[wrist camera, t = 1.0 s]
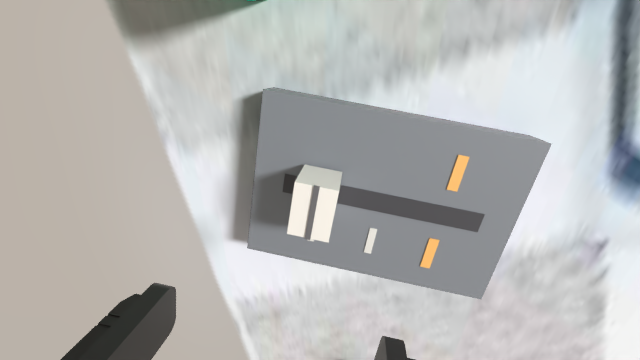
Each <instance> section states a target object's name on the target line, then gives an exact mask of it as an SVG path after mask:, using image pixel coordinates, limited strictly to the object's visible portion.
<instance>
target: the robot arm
mask: <svg viewBox="0 0 640 360" xmlns="http://www.w3.org/2000/svg"><path fill="white" fill-rule="evenodd" d="M175 319H176V289H175V287H172V286H167V285H163V284H159V283H154V284H152V285H151V286H150V287H149V288H148V289H147V290H146V291H145V292H144V293H143V294H142V295H139V294H134V295H133V296H130V297H129V298H127V299H125V300H123V301H121V302H120V303H119V304H118V305H117V306H116V307H115V308H114V309H113V310H112V311H110V312H109V314H108V316H105V317H104V318H103V319H102V320H101V321H100V322H99V323H98V325H97V326H95V327H94V328H93V329H92V330H91V331H90V332H89V333H88V334H87V335H86V336H85V337H83V338H82V340H80V341H79V342H78V343H77V344H76V345H75V346H74V347H73V348H72V349H71V350H70V351H69V352H68V353H67V354H66V355H65V356H64V357H63V358H62V359H61V360H151V359H152V358H153V356H154V355H155V354H156V352H157V351H158V349H159V348H160V347H161V345H162V344H163V342H164V341H165V340H166V338H167V337H168V336H169V334H170V332H171V331H172V328H173V326H174V323H175ZM374 360H414V359H410V358H407V355H406V349H405V344H404V341H403V340H399V339H394V338H390V337H386V336H382V338H381V341H380V344H379V347H378V350H377V353H376V356H375V359H374Z"/></svg>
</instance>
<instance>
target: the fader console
mask: <svg viewBox="0 0 640 360" xmlns="http://www.w3.org/2000/svg"><path fill="white" fill-rule="evenodd" d="M550 146H551V143H548V142H545V141H543V140H540V139H537V138H535V137H532V136H529V135H524V134H519V133H514V132H508V131H503V130H498V129H492V128H487V127H482V126H476V125H471V124H466V123H460V122H455V121H450V120H444V119H439V118H434V117H428V116H423V115H418V114H412V113H407V112H402V111H396V110H391V109H386V108H380V107H375V106H370V105H364V104H359V103H354V102H348V101H343V100H338V99H332V98H327V97H322V96H316V95H311V94H306V93H301V92H295V91H290V90H285V89H279V88H274V87H273V88H268V89H263V95H262V105H261V115H260V125H259V135H258V145H257V156H256V166H255V176H254V186H253V196H252V206H251V216H250V227H249V237H248V247H247V248H249V249H253V250H258V251H263V252H267V253H272V254H276V255H281V256H285V257H290V258H295V259H299V260H304V261H308V262H313V263H317V264H322V265H327V266H331V267H336V268H340V269H345V270H349V271H354V272H359V273H363V274H368V275H372V276H377V277H381V278H386V279H391V280H395V281H400V282H404V283H409V284H413V285H418V286H423V287H427V288H432V289H436V290H441V291H445V292H450V293H455V294H459V295H464V296H468V297H473V298H477V299H482V296H483V294H484V292H485V290H486V287H487V285H488V283H489V281H490V279H491V276H492V274H493V272H494V270H495V268H496V265H497V263H498V261H499V259H500V257H501V254H502V252H503V250H504V248H505V246H506V243H507V241H508V239H509V237H510V235H511V232H512V230H513V228H514V226H515V224H516V221H517V219H518V217H519V215H520V212H521V210H522V208H523V206H524V204H525V201H526V199H527V197H528V195H529V193H530V190H531V188H532V186H533V184H534V182H535V179H536V177H537V175H538V173H539V171H540V168H541V166H542V164H543V162H544V160H545V157H546V155H547V153H548V151H549V148H550ZM304 165H310V166H315V167H320V168H325V169H330V170H335V171H340V172H342V178H341V184H340V190H339V195H338V200H337V204H336V209H335V214H334V219H333V223H332V228H331V233H330V238H329V243H327V242H323V241H318V240H313V239H310V240H307V239H305V238H304V237H299V236H295V235H290V234H287V230H288V223H289V217H290V210H291V203H292V197H293V190H294V183H295V181H296V179H297V177H298V175H299V174H300V172H301V170H302V168H303V167H304Z"/></svg>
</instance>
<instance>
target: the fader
mask: <svg viewBox="0 0 640 360" xmlns="http://www.w3.org/2000/svg"><path fill="white" fill-rule="evenodd" d="M341 178H342V172H340V171H335V170H330V169H325V168H320V167H315V166H310V165H304V167H303V168H302V170H301V172H300V174H299V175H298V177H297V179H296V181H295V183H294V190H293V197H292V203H291V210H290V217H289V223H288V230H287V234H290V235H295V236H299V237H304V238H305V239H307V240H310V239H313V240H318V241H323V242H327V243H329V238H330V233H331V228H332V223H333V219H334V214H335V209H336V204H337V200H338V195H339V190H340V184H341Z"/></svg>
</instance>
